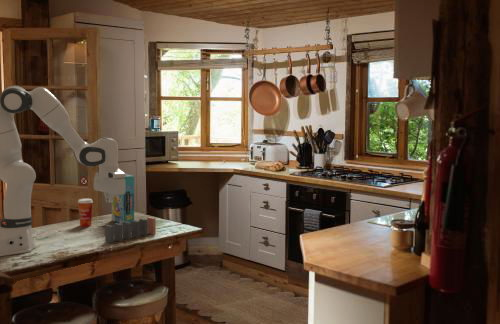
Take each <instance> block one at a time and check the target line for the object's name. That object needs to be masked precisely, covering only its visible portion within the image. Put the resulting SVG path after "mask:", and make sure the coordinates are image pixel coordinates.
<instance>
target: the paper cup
mask: <svg viewBox="0 0 500 324" xmlns="http://www.w3.org/2000/svg"><path fill="white" fill-rule="evenodd" d="M77 203H78V215H79V226H80V227H81V228H87V227H92V217H93V203H94V201H93V199H92V198H79V199H78V201H77Z"/></svg>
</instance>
